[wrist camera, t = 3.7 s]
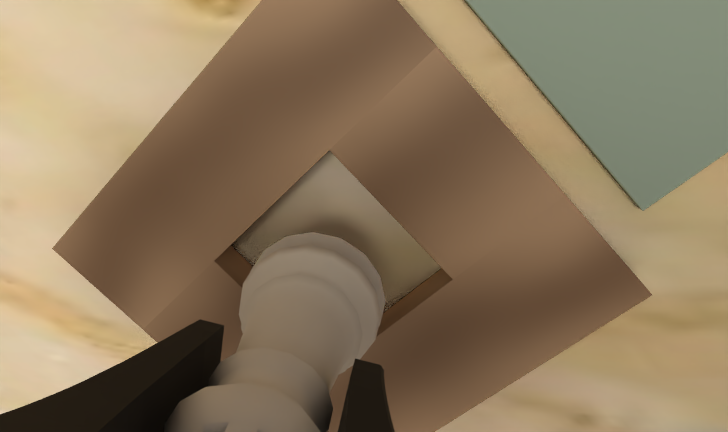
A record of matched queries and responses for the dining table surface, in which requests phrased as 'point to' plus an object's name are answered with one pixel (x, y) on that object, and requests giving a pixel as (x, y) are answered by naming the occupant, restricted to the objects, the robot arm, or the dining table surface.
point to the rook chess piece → (290, 340)
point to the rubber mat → (628, 80)
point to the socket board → (382, 179)
